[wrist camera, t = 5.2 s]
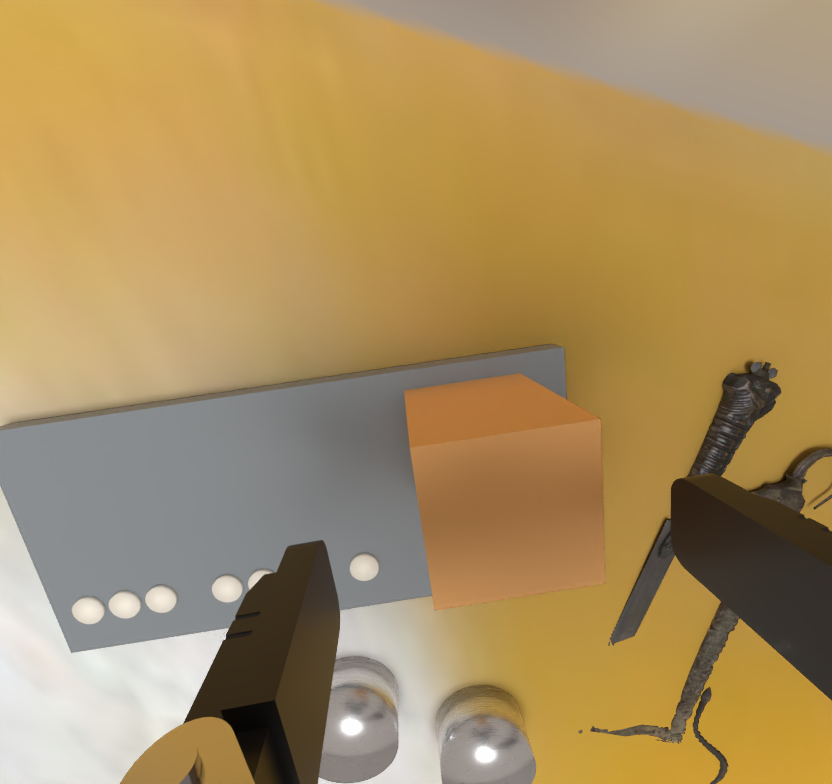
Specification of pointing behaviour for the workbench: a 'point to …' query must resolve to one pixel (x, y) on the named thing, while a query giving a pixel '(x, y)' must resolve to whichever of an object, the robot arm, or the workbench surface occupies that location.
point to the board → (229, 496)
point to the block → (506, 489)
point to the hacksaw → (731, 423)
